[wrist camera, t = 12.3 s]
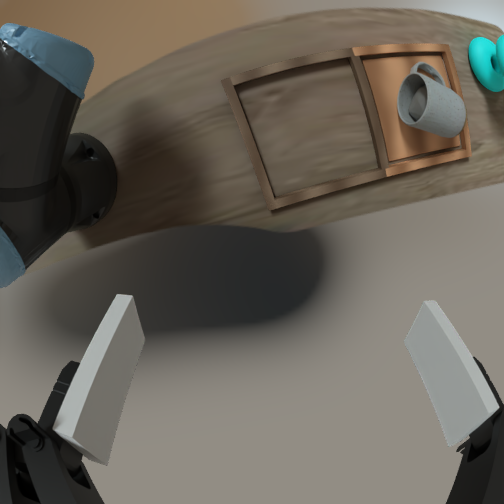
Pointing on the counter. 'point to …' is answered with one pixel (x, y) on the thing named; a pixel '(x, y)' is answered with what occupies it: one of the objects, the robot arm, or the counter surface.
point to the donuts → (488, 62)
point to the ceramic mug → (430, 103)
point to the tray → (385, 97)
